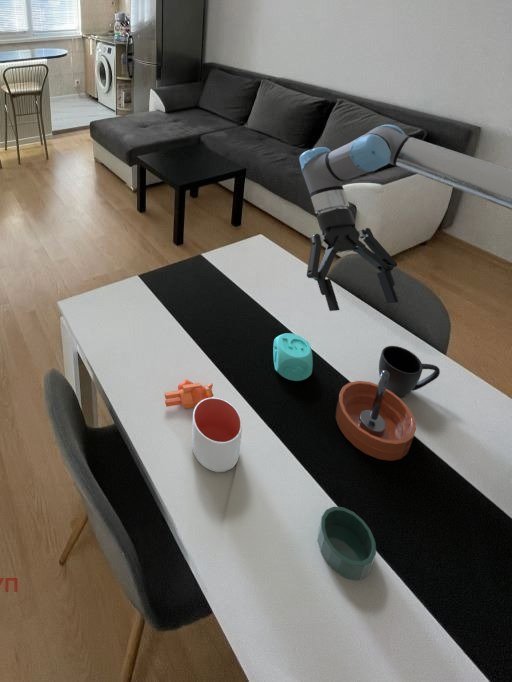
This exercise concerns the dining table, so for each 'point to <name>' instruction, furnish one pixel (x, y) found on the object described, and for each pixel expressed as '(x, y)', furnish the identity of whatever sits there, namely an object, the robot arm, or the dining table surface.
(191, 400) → the orange toy figurine
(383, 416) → the bowl
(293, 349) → the decorative dice
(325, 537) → the faceted green pot
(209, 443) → the cup
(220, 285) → the dining table surface
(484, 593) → the dining table surface
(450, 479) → the dining table surface
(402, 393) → the mug
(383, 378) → the ladle
